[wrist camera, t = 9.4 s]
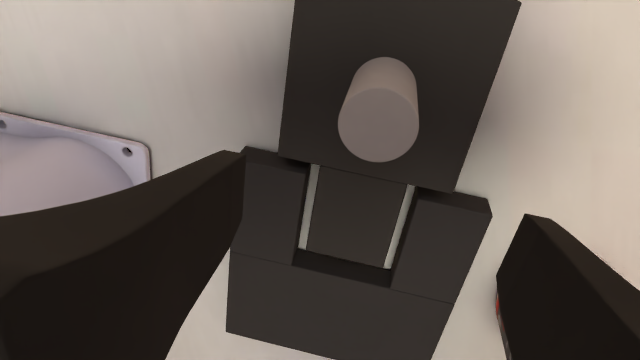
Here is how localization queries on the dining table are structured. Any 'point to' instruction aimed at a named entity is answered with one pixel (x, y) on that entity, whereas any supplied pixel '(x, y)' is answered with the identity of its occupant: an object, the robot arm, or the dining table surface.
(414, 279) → the charcoal pad
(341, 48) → the black pad
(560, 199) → the dining table surface
